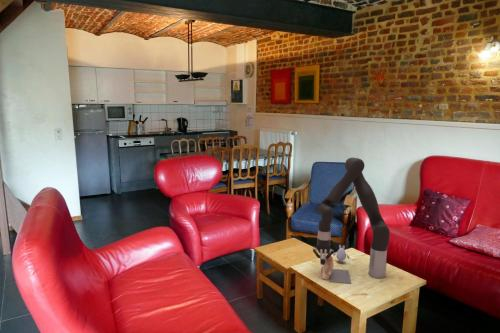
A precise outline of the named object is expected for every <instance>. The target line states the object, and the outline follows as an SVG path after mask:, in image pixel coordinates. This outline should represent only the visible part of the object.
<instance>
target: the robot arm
mask: <svg viewBox="0 0 500 333" xmlns="http://www.w3.org/2000/svg"><path fill="white" fill-rule="evenodd" d="M364 162H365V161H363V160H362V159H361V158H359V157H349V158H348V159H346V160H345V163H344V166H345V170H346V172H345V173H344V175H343V177H342V178H341V179H339V181H337V183H336V184H335V185H334V186H333V187H332V189H331V190H330V192H329V194H328V195H327V196H326V197H325V198H324V199H322V201H321V202H320V204H319V205H318V207H317V213H318V214H319V215H320V216H321V219H320V220H319V221H318V229H317V240H316V241H317V242H316V247H315V248H312V252H313V253H314V255H315V256H316V257H317V259H319V262H320V265H321V266H323V265H324V264H325V259H328V258H329V257H330V256H333V254H334V253H335V251H334V249H332V248H331V234H332V233H331V227H332V226H331V224H332V221H333V219H334V218H333V217H334V210H333V208H332V207H333V205H338V203H339V202H340V201H341V199H342V197H343V196H344V194H346V191H347V190H348V188H349V187H350V186H351V185H352V184H353V186H354V189H355V192H356V194H357V196H358V200H359V202H360V205H361V207H362V208H363V211H364V212H365V213H366V215H367V218H368V220H369V224H370V227H371V231H372V240H371V244H370V252H369V262H368V263H369V265H368V275H369V276H370V277H372V278H374V279H375V278H376V279H383V278H386V274H387V265H388V264H387V253H388V247H389V243H390V233H391V231H390V228H389V226H388V224H386V221H385V220H384V218H383V216H382V214H381V212H380V209H379V208H380V207H379V203H378V200H377V197H376V195H375V192H374V190H373V188H372V186H371V185H370V184H369V182H368V181H367V180H366V179H365V176H364V174H363V171H364V169H365V163H364Z"/></svg>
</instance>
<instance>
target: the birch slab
mask: <svg viewBox="0 0 500 333" xmlns="http://www.w3.org/2000/svg"><path fill="white" fill-rule="evenodd" d="M334 267H335V264H334V259H333V255H331V256H330V257H329V258H328V259H325V264H324V265H321V279H323V280H326V281H329V277H330V275H331V272H332V269H334Z"/></svg>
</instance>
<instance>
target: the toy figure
mask: <svg viewBox="0 0 500 333" xmlns="http://www.w3.org/2000/svg"><path fill="white" fill-rule="evenodd" d="M338 245H339V246H338V248H339V249H338V250H337V251H336V252H335V251H334V253H333V254H332V256H336V259H337V262H338V263H341V264H344V263H345V261H344V260H346V258H347V259H350V255H348V254H347V253H346V251H345V248H346V247H345V245H341V244H338Z"/></svg>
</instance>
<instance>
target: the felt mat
mask: <svg viewBox="0 0 500 333" xmlns="http://www.w3.org/2000/svg"><path fill="white" fill-rule="evenodd" d="M328 283H334V284H335V283H337V284H347V285H348V284H349V285H352V280H351V276H350V273H349V270H348V269H339V268H338V269H337V268H333V269H332V272H331V275H330V277H329V280H328Z"/></svg>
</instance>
